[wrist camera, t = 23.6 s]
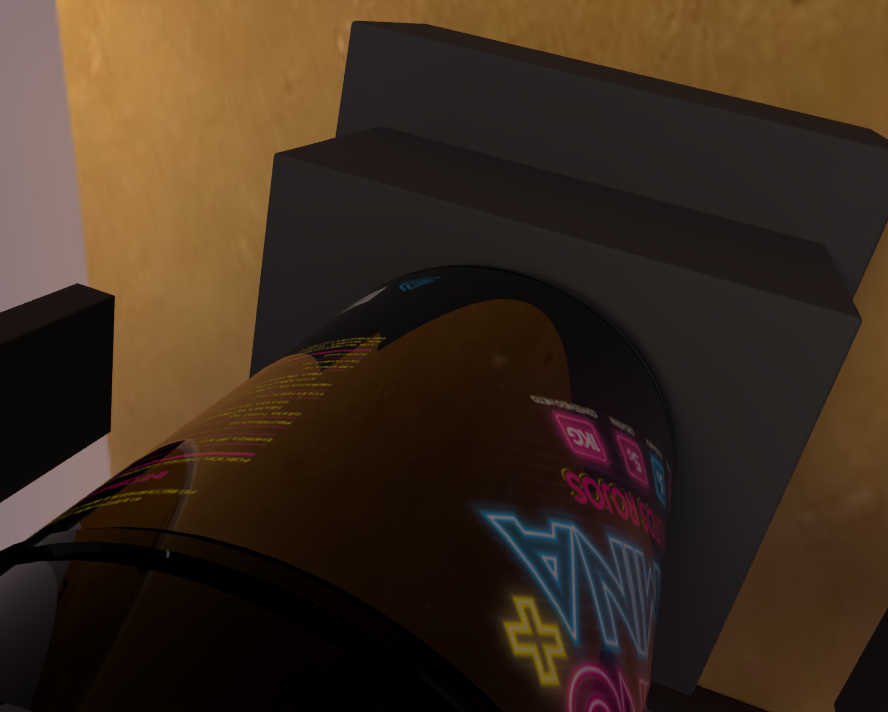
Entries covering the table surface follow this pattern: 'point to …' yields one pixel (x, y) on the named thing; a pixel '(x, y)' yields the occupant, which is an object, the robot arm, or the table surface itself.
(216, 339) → the table surface
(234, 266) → the table surface
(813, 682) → the table surface
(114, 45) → the table surface
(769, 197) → the dark rectangular box
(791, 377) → the top pad
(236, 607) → the supplement container
